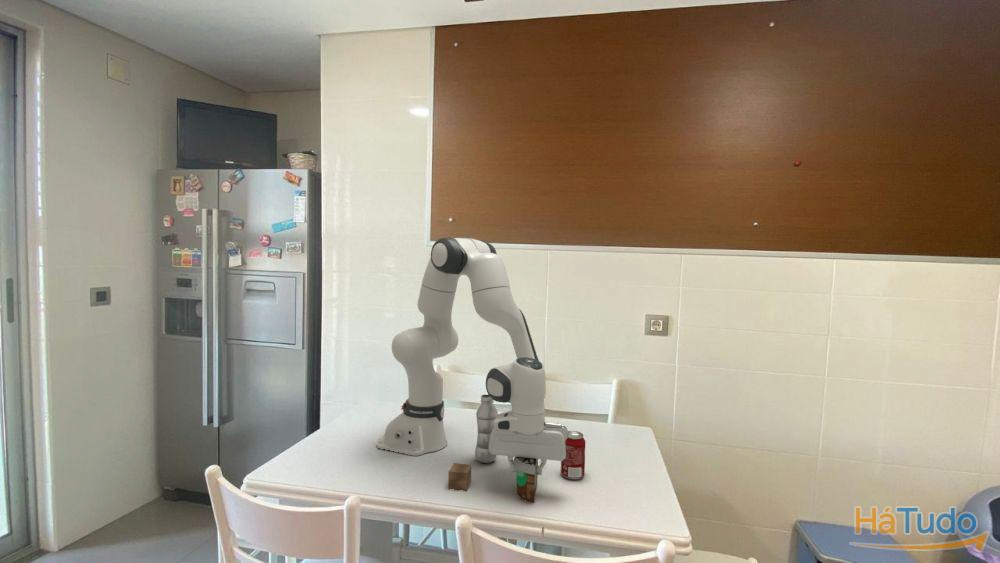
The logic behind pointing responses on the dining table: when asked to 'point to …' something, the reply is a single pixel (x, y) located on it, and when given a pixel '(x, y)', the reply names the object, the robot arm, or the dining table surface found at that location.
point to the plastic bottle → (485, 429)
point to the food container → (526, 477)
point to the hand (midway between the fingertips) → (526, 472)
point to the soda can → (574, 456)
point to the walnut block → (459, 476)
